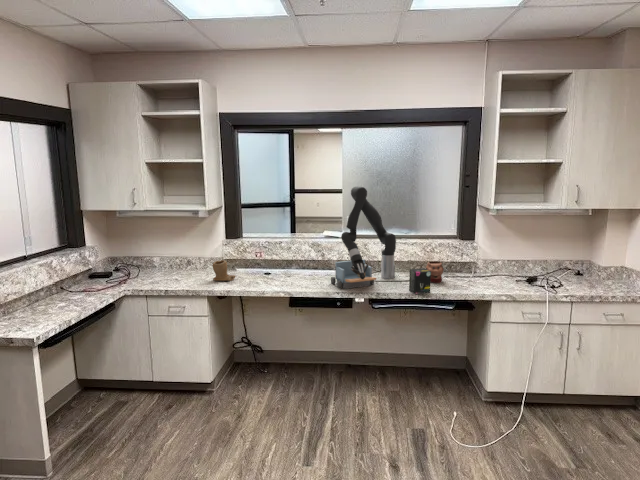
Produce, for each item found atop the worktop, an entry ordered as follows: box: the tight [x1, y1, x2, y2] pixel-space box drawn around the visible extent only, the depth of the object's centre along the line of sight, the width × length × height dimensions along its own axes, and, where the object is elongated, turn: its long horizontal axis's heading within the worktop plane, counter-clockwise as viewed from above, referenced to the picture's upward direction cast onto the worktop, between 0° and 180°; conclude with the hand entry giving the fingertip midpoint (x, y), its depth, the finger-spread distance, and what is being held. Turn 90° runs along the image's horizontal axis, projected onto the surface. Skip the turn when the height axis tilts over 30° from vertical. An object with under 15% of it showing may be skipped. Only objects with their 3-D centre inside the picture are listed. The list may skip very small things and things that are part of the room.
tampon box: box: [408, 267, 432, 295], centre depth 270 cm, size 11×9×15 cm
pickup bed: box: [330, 259, 375, 290], centre depth 290 cm, size 26×17×16 cm, turn 110°
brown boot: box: [211, 259, 236, 282], centre depth 304 cm, size 15×12×15 cm
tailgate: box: [345, 276, 377, 282], centre depth 277 cm, size 19×2×9 cm
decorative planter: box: [425, 260, 444, 284], centre depth 296 cm, size 20×12×14 cm, turn 177°
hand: (363, 278), depth 273 cm, fingers closed
